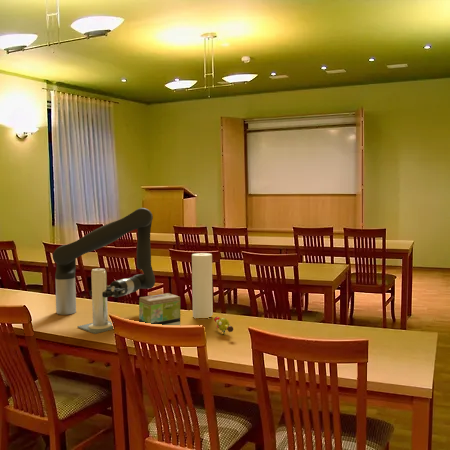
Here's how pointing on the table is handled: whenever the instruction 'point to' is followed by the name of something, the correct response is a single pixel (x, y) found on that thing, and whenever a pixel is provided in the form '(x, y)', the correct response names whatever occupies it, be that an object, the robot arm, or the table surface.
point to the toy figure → (223, 324)
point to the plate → (96, 328)
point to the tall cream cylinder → (99, 297)
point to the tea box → (160, 309)
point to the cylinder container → (202, 285)
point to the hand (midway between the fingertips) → (97, 294)
